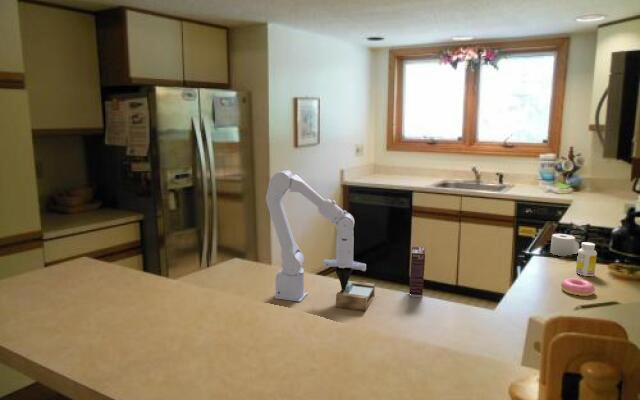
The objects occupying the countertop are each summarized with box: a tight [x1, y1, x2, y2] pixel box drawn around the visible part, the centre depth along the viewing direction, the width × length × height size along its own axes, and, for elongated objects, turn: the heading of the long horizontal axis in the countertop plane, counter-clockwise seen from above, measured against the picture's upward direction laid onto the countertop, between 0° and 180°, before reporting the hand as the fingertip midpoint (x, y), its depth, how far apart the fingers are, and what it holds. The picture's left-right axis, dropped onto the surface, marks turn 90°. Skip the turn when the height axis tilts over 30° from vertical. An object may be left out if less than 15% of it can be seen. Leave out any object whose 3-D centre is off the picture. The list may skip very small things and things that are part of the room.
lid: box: [343, 280, 374, 299], centre depth 163 cm, size 9×11×3 cm
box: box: [335, 280, 376, 313], centre depth 164 cm, size 10×14×4 cm
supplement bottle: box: [575, 241, 598, 277], centre depth 193 cm, size 7×7×13 cm
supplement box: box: [408, 246, 426, 298], centre depth 171 cm, size 9×5×16 cm, turn 168°
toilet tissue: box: [549, 233, 580, 256], centre depth 221 cm, size 9×13×9 cm
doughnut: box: [560, 277, 596, 297], centre depth 175 cm, size 11×11×4 cm
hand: (344, 288), depth 165 cm, fingers closed
